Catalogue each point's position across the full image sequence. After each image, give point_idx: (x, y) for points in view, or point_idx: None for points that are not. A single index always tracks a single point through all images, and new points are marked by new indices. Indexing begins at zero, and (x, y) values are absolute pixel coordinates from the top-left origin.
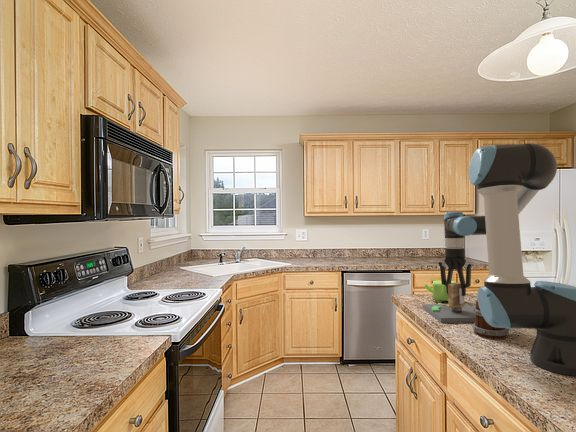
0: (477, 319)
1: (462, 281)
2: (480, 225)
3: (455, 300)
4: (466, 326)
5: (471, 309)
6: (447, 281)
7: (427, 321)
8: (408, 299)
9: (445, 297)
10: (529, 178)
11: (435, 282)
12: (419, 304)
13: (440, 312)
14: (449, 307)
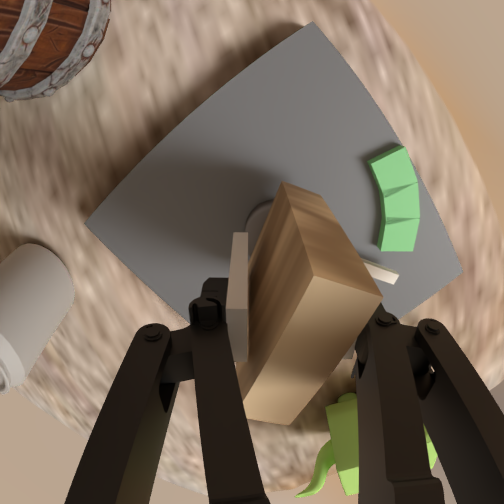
0: None
1: (200, 375)
2: None
3: (276, 224)
4: (165, 51)
5: None
6: (396, 354)
7: (379, 24)
8: (494, 349)
9: None
10: None
11: (429, 452)
12: (464, 314)
13: (356, 148)
14: (313, 192)
